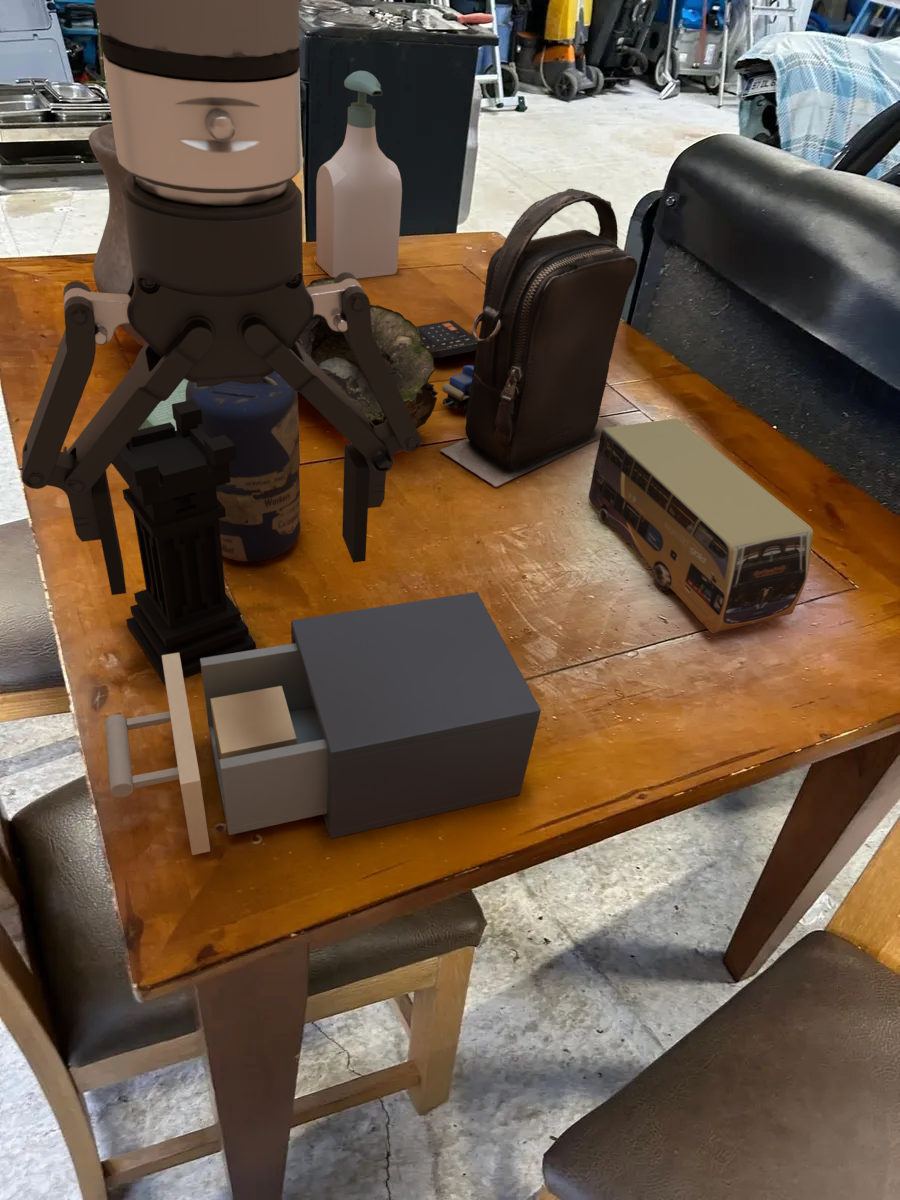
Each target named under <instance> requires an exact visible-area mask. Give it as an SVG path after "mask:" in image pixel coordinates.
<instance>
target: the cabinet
mask: <svg viewBox="0 0 900 1200" xmlns="http://www.w3.org/2000/svg"><path fill="white" fill-rule="evenodd" d="M290 625H291V626H290V633H291V634H290V637H291V641H290V642H291V644H293V643H296V645H297V649H298V652H299V655H300V659H301V662H302V665H303V669H304V672H305V675H306V679H307V682H308V685H309V689H310V692H311V695H312V699H313V702H314V705H315V709H316V712H317V715H318V719H319V722H320V725H321V729H322V732H323V735H324V739H325V742H326V745H327V749H328V803H327V813H326V814H322V817H323V821H324V824H325V828H326V831H327V835H328V838H329V840H332V839H336V838H340V837H345V836H349V835H353V834H357V833H363V832H366V831H370V830H375V829H379V828H383V827H387V826H391V825H396V824H401V823H405V822H409V821H414V820H417V819H422V818H426V817H427V818H428V817H430V816H435V815H439V814H443V813H448V812H452V811H456V810H461V809H465V808H469V807H473V806H478V805H483V804H487V803H490V802H496V801H499V800H504V799H509V798H512V797H516V796H517V797H518V796H520V795H521V793H522V788H523V784H524V780H525V777H526V772H527V768H528V765H529V760H530V756H531V753H532V748H533V744H534V740H535V737H536V732H537V729H538V724H539V720H540V716H541V712H542V710H541V707H540V706H539V704H538V702H537V700H536V698H535V696H534V695H533V692H532V690H531V688H530V687H529V685H528V683H527V681H526V680H525V678H524V676H523V674H522V671H521V670H520V668H519V667H518V665H517V663H516V661H515V660H514V659H515V658H514V657H513V656H512V654H511V652H510V650H509V648H508V646H507V644H506V643H505V641H504V638H503V637H502V635H501V633H500V631H499V629H498V628H497V626H496V624H495V622H494V620H493V619H492V616H491V615H490V613H489V611H488V609H487V608H486V605H485V603H484V601H483V600H482V598H481V596H480V594H479V592H477V591H474V592H468V593H467V592H466V593H461V594H454V595H448V596H440V597H435V598H428V599H421V600H416V601H408V602H402V603H396V604H395V603H394V604H389V605H381V606H375V607H370V608H368V607H367V608H363V609H357V610H350V611H349V610H348V611H344V612H336V613H331V614H324V615H317V616H309V617H304V618H296V619H292V620H290Z"/></svg>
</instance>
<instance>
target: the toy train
mask: <svg viewBox="0 0 900 1200" xmlns="http://www.w3.org/2000/svg"><path fill="white" fill-rule="evenodd" d="M473 370H474V365H472V364H471V365H470V364H469V365H463V367H462V370H461V371H462V372H459V373H457V374H455V375H452V376H450V377H449V383H447V382H444V383H443V385H441V391H442V392H443V393H445V394H447V397H444V398H443V399H442V404H443V405H446V406H447V407H448V408H452V409H454V410H457V411H458V410H460V409H462V412H463V414H465V415H466V411H467V407H468V403H469V396H470V390H471V386H472V378H473Z"/></svg>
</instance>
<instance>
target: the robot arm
mask: <svg viewBox="0 0 900 1200" xmlns="http://www.w3.org/2000/svg"><path fill="white" fill-rule="evenodd" d="M93 2H94V7H95V11H96V16H97V22H98V26H99V27H98V28H99V31H100V32H99V33H100V40H101V48H102V53H103V54H102V59H103V65H104V66H103V67H104V74H105V80H106V87H107V95H108V102H109V108H110V109H109V110H110V115H111V116H110V117H111V122H112V123H111V124H113V131H114V138H115V145H116V152H117V158H118V161H119V164H120V165H122V166H123V167H124V168H125V169H126V170H127V171H128V172H130V174H129V175H128V176H127V178H126V180H125V181H124V183H123V184H122V197H123V205H124V212H125V219H126V227H127V234H128V241H129V248H130V256H131V263H132V270H133V280H132V284H131V287H130V289H129V291H128V294H114V293H99V292H98V291H97V292H96V291H92V289H91V288H90V287H89V285H87V284H86V283H84V282H83V281H79V280H73V281H70V282H68V283H67V284H66V285H65V286H64V287H63V293H62V295H63V311H64V312H63V313H64V327H65V329H64V331H63V335H62V337H61V340H60V343H59V345H58V349H57V351H56V354H55V357H54V360H53V363H52V365H51V368H50V371H49V373H48V377H47V380H46V382H45V385H44V387H43V391H42V393H41V396H40V399H39V402H38V405H37V407H36V411H35V413H34V416H33V418H32V421H31V425H30V428H29V430H28V432H27V435H26V438H25V441H24V443H23V446H22V452H21V480H22V483H23V484H24V486H26V487H28V488H30V489H32V490H33V489H34V490H39V489H43V488H45V487H47V486H50V487H53V488H57V489H60V490H62V491H63V492H64V493H65V494H66V496H67V499H68V504H69V508H70V513H71V517H72V522H73V525H74V531H75V534H76V536H77V537H78V539H79V540H80V541H81V542H82V543H84V542H91V541H100V543H101V548H102V553H103V559H104V563H105V567H106V568H105V569H106V574H107V579H108V582H109V588H110V593H111V596H117V595H125V594H127V586H126V578H125V569H124V568H125V567H124V561H123V556H122V551H121V545H120V540H119V534H118V529H117V525H116V524H117V523H116V518H115V513H114V507H113V501H112V496H111V491H110V486H109V485H110V484H109V481H108V480H109V479H108V475H107V470H108V468H109V467H110V465H112V462H113V461H114V459H115V458H116V457H117V456H118V454H119V453H120V452H121V451H122V449H123V448H124V447H125V445H126V444H127V443H128V442H129V440H130V439H131V438H132V437H133V435H134V434H135V433H136V432H137V430H138V429H139V428H140V427H141V425H142V424H143V423H144V422H145V420H146V419H147V418H148V417H149V415H150V414H151V413H152V412H153V410H154V409H155V408H156V407H157V405H158V404H159V403H160V402H161V401H165V400H167V399H168V398H169V397H170V396H171V394H172V393H173V392H174V390H175V389H176V388H177V387H178V385H179V384H180V383H181V382H182V380H183V379H186V380H188V381H191V382H195V383H196V384H197V387H207V386H215V385H218V384H222V383H225V382H228V381H233V382H239V383H245V384H251V383H262V378H264V377H266V376H268V375H270V374H271V373H273V372H274V371H276V372H277V373H278V374H279V375H280V376H281V377H282V378H283V379H284V380H285V381H286V382H287V383H288V384H289V385H290V386H291V387H292V388H293V389H294V390H295V391H297V392H298V393H299V394H301V395H302V397H304V398H305V399H306V401H308V402H309V403H310V405H312V407H314V408H315V409H316V410H317V411H318V412H319V414H321V415H322V416H323V418H325V419H326V420H327V422H329V423H330V424H331V425H332V426H333V427H334V428H335V429H336V430H337V431H338V432H339V433H340V434H341V435H342V436H343V437H344V438H345V439H346V440H347V441H348V442H349V443H347V444H344V447H343V448H344V455H343V486H342V487H343V492H342V493H343V495H342V529H341V533H342V534H341V536H342V538H343V541H344V544H345V546H346V548H347V551H348V553H349V557H350V558H351V561H352V563H353V564H354V563H360V562H366V559H367V557H366V556H367V555H366V554H367V539H368V537H367V536H368V517H369V516H368V515H369V509H371V508H372V509H373V508H381V507H382V505H383V503H384V501H385V493H386V492H385V490H386V480H387V473H388V472H389V471H390V470H391V469H392V468H393V466H394V463H395V460H394V458H393V455H395V454H397V453H399V452H402V451H404V452H406V453H413V452H415V451H417V450H418V449H420V447H421V446H422V442H423V441H422V440H423V439H422V437H421V435H420V434H421V433H419V430H418V428H416V426H415V424H414V422H413V420H412V418H411V416H410V413H409V411H408V409H407V407H406V405H405V403H404V401H403V399H402V397H401V395H400V392H399V390H398V388H397V386H396V384H395V382H394V380H393V378H392V376H391V374H390V371H389V369H388V367H387V365H386V363H385V361H384V359H383V357H382V355H381V353H380V350H379V348H378V346H377V344H376V342H375V340H374V338H373V336H372V326H371V312H370V305H371V302H370V298H369V296H368V295H367V293H366V291H365V290H364V289H363V287H362V286H361V283H360V282H359V280H358V278H357V279H356V278H355V276H354V275H353V274H351V273H347V272H344V273H341V274H339V275H338V276H337V277H336V279H335V281H334V284H327V285H321V286H314V287H307V286H306V284H305V280H304V261H303V260H304V257H303V256H304V254H303V253H304V252H303V248H304V247H303V246H304V245H303V193H302V191H301V189H300V188H299V186H297V183H296V182H295V181H294V180H293V179H294V178H295V177H296V176H297V175H298V174H299V173H300V171H301V170H302V167H303V166H302V165H303V163H302V161H303V160H302V159H303V158H302V126H301V125H302V119H301V117H302V115H301V114H302V112H301V70H300V66H301V58H300V57H301V55H300V53H301V51H300V0H93ZM306 287H307V288H306ZM313 315H321V316H323V317H324V318H325V320H326V321H327V323H328V325H329V327H330V328H331V329H332V330H334V331H337V332H338V331H340V332H343V334H344V336H345V338H346V340H347V342H348V344H349V346H350V348H351V350H352V352H353V354H354V356H355V358H356V360H357V362H358V364H359V366H360V368H361V370H362V372H363V374H364V376H365V378H366V380H367V382H368V384H369V386H370V388H371V390H372V392H373V394H374V396H375V398H376V400H377V402H378V404H379V406H380V408H381V409H382V411H383V413H384V415H385V417H386V419H387V422H384V423H382V424H379V425H377V426H375V425H374V424H373V423H372V422H371V421H370V420H369V419H368V418H367V417H366V416H365V415H364V414H363V413H362V411H361V410H360V409H359V408H358V407H357V406H356V405H355V404H354V403H353V402H352V401H351V400H350V399H349V398H348V397H347V396H346V395H345V394H344V393H343V392H342V391H341V389H340V388H339V387H338V386H337V385H336V384H335V383H334V382H333V381H332V380H331V379H330V378H329V377H328V376H327V375H326V374H325V373H324V372H323V371H322V370H321V369H320V367H319V366H318V365H317V364H316V363H315V362H314V361H313V360H312V359H311V358H310V357H309V356H308V355H307V354H306V353H305V351H304V350H303V348H302V347H301V346H300V345H299V343H298V342H297V340H298V338H299V337H300V336H301V334H302V333H303V331H304V330H305V329H306V327H307V326H308V324H309V323H310V322H311V320H312V317H313ZM127 323H130V325H131V326H132V328H133V329H134V330H135V331H136V332H137V333H138V334H139V335H140V336H141V337H142V338H143V340H144V341H145V342H146V344H145V345H144V346H142V348H141V349H140V350H139V352H138V354H137V355H136V358H135V361H134V363H133V365H132V366H131V368H130V369H129V370H128V372H127V373H126V374H125V375H124V376H123V378H122V379H121V381H120V382H119V383H118V384H117V386H116V387H115V389H114V390H113V391H112V392H111V394H110V395H109V396H108V398H107V399H106V400H105V401H104V402H103V404H102V405H101V407H100V408H99V409H98V410H97V411H96V413H95V415H93V417H92V418H91V420H90V421H89V422H88V423H87V425H86V426H85V427H84V429H83V430H82V431H81V432H80V434H79V436H77V438H76V439H75V440H74V442H73V443H72V444H71V446H70V447H69V448H68V447H67V446H64V443H65V440H66V438H67V436H68V433H69V431H70V428H71V425H72V422H73V420H74V418H75V415H76V412H77V411H78V410H77V409H78V407H79V404H80V402H81V399H82V396H83V393H84V392H85V388H86V386H87V383H88V381H89V378H90V375H91V373H92V370H93V366H94V363H95V358H96V351H97V350H96V345H98V346H104V345H106V344H108V343H110V341H112V340H113V337H114V334H115V331H116V330H117V328H118V327H120V326H119V325H122V324H127ZM63 446H64V447H63Z"/></svg>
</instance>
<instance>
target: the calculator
mask: <svg viewBox="0 0 900 1200" xmlns="http://www.w3.org/2000/svg"><path fill="white" fill-rule="evenodd" d="M416 327H417V328H418V330H419V336H420V339H421V342H422V344H423V345H424V346H426V347H427V348H428V349H429V350H430V351H431V355H432V356H433V359H438V358H443V357H444V358H445V357H449V356H450V357H451V356H455V355H459V354H464V353H469V352H470V353H471V352H474V351H477V344H478V342H477V341H475V339H474V338H473V336H472V335H471V334H472V333H470V332H468V331H467V330H465V328H463V327H461V326H460V324H457V323H456V322H455V321H454V320H452V319H451V320H447V321H441V322H435V323H429V324H423V325H417V326H416Z"/></svg>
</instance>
